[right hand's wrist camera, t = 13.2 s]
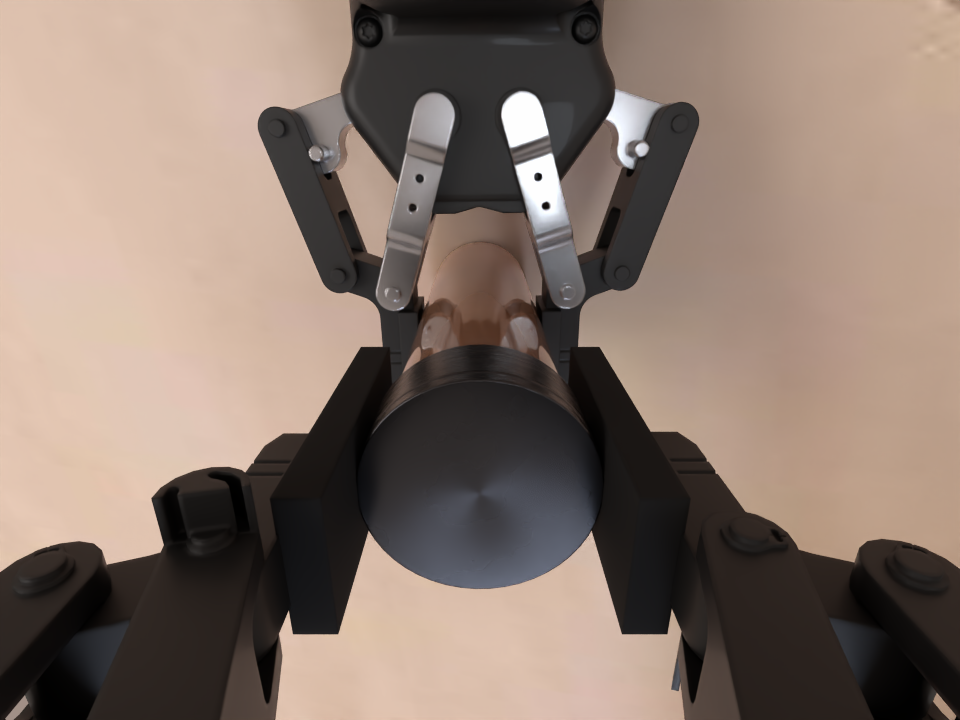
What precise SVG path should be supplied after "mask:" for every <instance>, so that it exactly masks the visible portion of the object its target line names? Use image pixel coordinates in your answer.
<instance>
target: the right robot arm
mask: <svg viewBox="0 0 960 720" xmlns="http://www.w3.org/2000/svg"><path fill="white" fill-rule="evenodd" d="M568 385H569V387H570V388H571V389H572V391H573V392H574V394H575V396H576V397H577V399H578V401H579V403H580V406H581V408H582V411H583V413H584V416H585V418H586V421H587V423H588V426H589V428H590V431H591V433H592V436H593V438H594V441H595V444H596V446H597V449H598V451H599V454H600V457H601V461H602V465H603V469H604V488H603V498H602V506H601V510H600V513H599V516H598V518H597V521H596V523H595V525H594V527H593V529H592V533H593V536H594V540H595V543H596V547H597V550H598V554H599V557H600V560H601V564H602V567H603V571H604V574H605V577H606V581H607V584H608V588H609V591H610V595H611V598H612V601H613V605H614V608H615V612H616V615H617V618H618V622H619V625H620V629H621V632H622V634H667V633H668V627H669V621H670V616H671V610H673V612H674V614H675V617H676V619H677V621H678V624H679V626H680V629H681V631H682V632H681V638H680V643H679V648H678V654H677V659H676V664H675V670H674V675H673V681H672V688H671V690H676V691H679V686H680V681H681V690H682V699H683V708H684V716H685V720H949V719H948V718H947V717H946V716H945V715H944V714H943V713H942V712H941V711H940V710H939V708H938V707H937V706H936V705H935V704H934V702H933V700H934V697H935V695H936V693H938V694H939V696H940V697H941V698H942V699H943V700H944V701H945V703H946V704H947V705H948V706H949V707H950V709H951V710H952V711H953V712H954V713H955V715H956V718H955V720H960V569H959V568H958V567H956V566H955V565H954V564H952V563H951V562H949V561H948V560H947V559H945V558H943V557H941V556H939V555H937V554H935V553H933V552H931V551H929V550H927V549H925V548H923V547H920V546H917V545H912V544H910V543H906V542H902V541H895V540H886V539H879V540H872V541H867V542H866V543H865V544H864V545H862V546H861V547H860V548H859V551H858V554H857V557H856V560H855V563H854V562H849V561H844V560H840V559H835V558H830V557H825V556H821V555H816V554H812V553H808V552H804V551H801V550H798V548H797V545H796V544H795V542H794V541H793V540H792V538H791V537H790V535H789V534H788V533H787V532H786V531H784V530H783V529H782V528H780V527H779V526H778V525H776V524H775V523H774V522H771V521H769V520H767V519H765V518H763V517H760V516H758V515H756V514H751V513H747V512H745V511H744V509H743V508H742V506H741V505H740V504H739V502H738V501H737V500H736V498H735V497H734V496H733V494H732V493H731V491H730V490H729V489H728V487H727V486H726V485H725V483H724V482H723V481H722V479H721V478H720V476H719V475H718V474H716V473H715V470H714V468H713V467H712V466H711V464H710V463H709V462H707V459H706V457H705V456H704V455H703V453H702V452H701V451H700V449H699V448H698V446H697V445H696V444H695V443H693V442H692V441H690V440H689V439H687V438H686V437H684V436H683V435H681V434H680V433H678V432H650V430H649V428H648V427H647V425H646V423H645V422H644V420H643V418H642V417H641V415H640V413H639V412H638V410H637V409H636V407H635V405H634V404H633V402H632V400H631V399H630V397H629V395H628V394H627V392H626V390H625V389H624V387H623V385H622V384H621V382H620V380H619V379H618V377H617V375H616V374H615V372H614V370H613V369H612V367H611V366H610V364H609V362H608V361H607V359H606V357H605V356H604V354H603V352H602V351H601V349H600V347H571V348H570V363H569V379H568ZM391 386H392V374H391V359H390V347H361V348H360V350H359V351H358V353H357V354H356V356H355V358H354V359H353V361H352V363H351V364H350V366H349V368H348V369H347V371H346V373H345V374H344V376H343V378H342V379H341V381H340V383H339V384H338V386H337V388H336V389H335V391H334V393H333V394H332V396H331V398H330V399H329V401H328V402H327V404H326V406H325V407H324V409H323V411H322V412H321V414H320V416H319V417H318V419H317V421H316V422H315V424H314V426H313V427H312V429H311V431H310V432H309V434H282V435H281V436H279V437H278V438H276V439H275V440H273V441H272V442H270V443H269V444H267V445H266V446H264V448H263V449H262V450H261V452H260V453H259V455H258V456H257V457H256V459H255V460H254V464H251V466H250V467H249V468H248V470H247V471H246V472H243V471H242V470H239V469H235V468H231V467H211V468H206V469H201V470H197V471H193V472H190V473H188V474H185V475H183V476H180V477H178V478H175V479H174V480H172V481H170V482H169V483H167V484H166V485H164V486H163V487H161V488H160V489H159V490H158V491H157V493H156V494H155V495H154V496H153V497H152V498H151V499H152V503H153V506H154V510H155V514H156V517H157V521H158V525H159V528H160V532H161V536H162V540H163V543H164V546H163V549H162V551H161V553H157V554H154V555H150V556H146V557H141V558H136V559H132V560H127V561H122V562H118V563H113V564H108V565H106V562H105V558H104V555H103V552H102V550H101V549H100V548H98V547H97V546H96V545H95V544H93V543H87V542H80V541H78V542H69V543H61V544H57V545H53V546H50V547H46V548H43V549H40V550H37V551H35V552H33V553H32V554H29V555H27V556H25V557H23V558H21V559H19V560H17V561H15V562H14V563H13V564H11V565H10V566H8V567H7V568H6V569H4V570H3V571H1V572H0V720H6V719H5V718H6V717H7V716H8V714H9V713H10V712H11V711H12V710H13V708H14V707H15V706H16V705H17V704H18V702H19V701H20V700H21V699H22V698H23V696H24V695H25V696H26V699H27V701H28V703H29V704H28V705H27V706H26V707H25V709H24V710H23V711H22V712H21V713H20V715H18V716H17V717H16V718H15V719H14V720H275V718H276V709H277V700H278V691H279V682H280V673H281V664H282V650H281V643H280V638H279V632H280V630H281V627H282V625H283V623H284V620H285V618H286V615H287V613H288V611H289V614H290V619H291V625H292V631H293V634H338V633H339V630H340V626H341V623H342V620H343V616H344V613H345V609H346V606H347V602H348V599H349V596H350V592H351V589H352V585H353V582H354V579H355V575H356V572H357V568H358V565H359V561H360V558H361V555H362V551H363V548H364V544H365V541H366V538H367V534H368V531H369V530H368V528H367V526H366V524H365V522H364V520H363V517H362V515H361V512H360V508H359V504H358V495H357V484H356V472H357V467H358V462H359V458H360V455H361V452H362V450H363V447H364V444H365V442H366V439H367V437H368V434H369V432H370V429H371V426H372V424H373V421H374V419H375V416H376V414H377V411H378V409H379V406H380V404H381V402H382V400H383V398H384V396H385V394H386V393H387V391H388V390H389V388H390V387H391Z"/></svg>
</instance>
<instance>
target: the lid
mask: <svg viewBox="0 0 960 720" xmlns="http://www.w3.org/2000/svg"><path fill="white" fill-rule="evenodd" d="M356 484H357V495H358V504H359V508H360V512H361V515H362V517H363V520H364V522H365V524H366V526H367V528H368V530H369V531H370V533H371V535H372V536H373V538H374V539H375V541H376V542H377V543H378V544H379V545H380V546H381V548H382V549H383V550H384V551H385V552H386V553H387V554H388V555H389V556H391V557H392V558H393V559H394V560H395V561H397V562H398V563H399V564H401V565H402V566H404V567H405V568H407V569H408V570H410V571H412V572H414V573H416V574H417V575H419V576H422V577H424V578H427V579H429V580H431V581H435V582H438V583H441V584H445V585H449V586H455V587H460V588H471V589H491V588H499V587H506V586H511V585H515V584H520V583H523V582H526V581H529V580H531V579H534V578H536V577H538V576H541V575H543V574H545V573H547V572H549V571H550V570H552V569H554V568H555V567H557V566H558V565H560V564H561V563H562V562H564V561H565V560H566V559H568V558H569V557H570V556H571V555H572V554H573V553H574V552H575V551H576V550H577V549H578V548H579V547H580V546H581V545H582V543H583V542H584V541H585V539H586V538H587V537H588V536H589V534H590V532H591V530H592V529H593V527H594V525H595V523H596V521H597V518H598V516H599V513H600V510H601V506H602V498H603V488H604V469H603V465H602V461H601V457H600V454H599V451H598V449H597V446H596V444H595V441H594V438H593V436H592V433H591V431H590V428H589V426H588V423H587V421H586V418H585V416H584V413H583V411H582V408H581V406H580V403H579V401H578V399H577V397H576V396H575V394H574V392H573V391H572V389H571V388H570V387H569V385H568V384H567V383H566V382H565V380H564V379H563V378H562V377H561V376H560V375H559V374H558V373H556V372H555V371H554V370H553V369H552V368H551V367H549V366H548V365H546V364H545V363H543V362H542V361H540V360H538V359H536V358H534V357H533V356H531V355H529V354H526V353H523V352H521V351H518V350H515V349H511V348H507V347H503V346H496V345H486V344H480V345H465V346H458V347H453V348H449V349H446V350H442V351H439V352H437V353H434V354H432V355H430V356H427V357H426V358H424V359H422V360H420V361H419V362H417V363H415V364H414V365H413V366H411V367H410V368H409V369H407V370H406V371H405V372H404V373H403V374H402V375H401V376H400V377H399V378H398V379H397V380H396V381H395V382H394V383H393V384H392V386H391V387H390V388H389V390H388V391H387V393H386V394H385V396H384V398H383V400H382V402H381V404H380V406H379V409H378V411H377V414H376V416H375V419H374V421H373V424H372V426H371V429H370V432H369V434H368V437H367V439H366V442H365V444H364V447H363V450H362V452H361V455H360V458H359V462H358V467H357V472H356Z"/></svg>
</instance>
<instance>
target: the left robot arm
mask: <svg viewBox="0 0 960 720" xmlns="http://www.w3.org/2000/svg"><path fill="white" fill-rule="evenodd" d="M603 6H604V0H350V12H351V24H352V36H353V43H352V52H351V57H350V61H349V65H348V67H347V70H346V72H345V74H344V77H343V80H342V84H341V93H339V94H336V95H333V96H330V97H327V98H325V99H322V100H319V101H316V102H313V103H311V104H308V105H305V106H302V107H299V108H297V109H294V110H290V109H285V108H281V107H270V108H267V109H266V110H264V111H263V112H262V114H261V115H260V117H259V120H258V131H259V134H260V136H261V139H262V141H263V143H264V146H265V148H266V150H267V153H268V155H269V157H270V160H271V162H272V164H273V167H274V169H275V172H276V174H277V176H278V179H279V181H280V183H281V186H282V188H283V190H284V193H285V195H286V197H287V200H288V202H289V204H290V207H291V209H292V211H293V214H294V216H295V218H296V221H297V223H298V225H299V228H300V230H301V232H302V235H303V237H304V240H305V242H306V244H307V247H308V249H309V251H310V254H311V256H312V258H313V261H314V263H315V265H316V268H317V270H318V272H319V275H320V277H321V279H322V282H323V283H324V285H325V286H326V287H327V288H328V289H329V290H331V291H333V292H336V293H345V292H350V293H353V294H356V295H359V296H362V297H365V298H367V299H369V300H370V301H372V302H373V303H374V304H375V305H376V307H377V308H378V310H379V313H380V318H381V330H382V342H383V347H390V359H391V374H392V384H393V383H394V382H395V381H396V380H397V379H398V378H399V377H400V376H401V374H402V371H403V369H404V366H405V363H406V360H407V357H408V354H409V351H410V349H411V346H412V343H413V340H414V337H415V334H416V331H417V329H418V326H419V323H420V320H421V317H422V314H423V312H424V297H418V289H417V284H418V281H419V277H420V273H421V269H422V265H423V261H424V258H425V254H426V250H427V246H428V242H429V239H430V236H431V232H432V229H433V225H434V221H435V217H436V214H455V213H459V212H462V211H466V210H469V209H473V208H476V207H483V208H487V209H491V210H494V211H498V212H502V213H523V215H524V219H525V222H526V225H527V229H528V232H529V235H530V238H531V241H532V244H533V248H534V251H535V255H536V258H537V262H538V266H539V269H540V273H541V276H542V295H540V296H536V310H537V313H538V316H539V319H540V322H541V324H542V327H543V330H544V333H545V336H546V339H547V341H548V344H549V347H550V350H551V353H552V356H553V359H554V361H555V364H556V367H557V370H558V373H559V375H560V376H561V377H562V378H563V379H564V380H565V382H566V383H567V384H568V379H569V363H570V348H571V347H578V335H579V317H580V311H581V308H582V306H583V304H584V303H585V302H586V301H587V300H588V299H589V298H590V297H592V296H594V295H596V294H599V293H602V292H605V291H608V290H610V289H614V290H618V291H622V290H626V289H629V288H630V287H632V286H633V285H634V284H635V283H636V281H637V280H638V278H639V275H640V273H641V270H642V268H643V265H644V263H645V260H646V258H647V255H648V253H649V250H650V247H651V245H652V242H653V240H654V237H655V235H656V232H657V230H658V227H659V225H660V222H661V220H662V217H663V215H664V212H665V210H666V207H667V205H668V202H669V200H670V197H671V195H672V192H673V190H674V187H675V185H676V182H677V180H678V177H679V175H680V172H681V169H682V167H683V164H684V162H685V159H686V157H687V154H688V152H689V149H690V147H691V144H692V142H693V139H694V137H695V134H696V132H697V129H698V126H699V116H698V113H697V111H696V109H695V108H694V107H693V106H692V105H691V104H689V103H686V102H678V103H669V104H661V103H658V102H655V101H652V100H648V99H645V98H642V97H639V96H636V95H633V94H630V93H627V92H624V91H621V90H618V89H615V81H614V77H613V74H612V71H611V69H610V67H609V65H608V63H607V60H606V57H605V53H604V49H603V43H602V24H603ZM602 123H605V124H606V125H607V126H608V127H609V129H610V131H611V134H612V145H611V156H612V159H613V161H614V162H615V163H616V164H617V165H618V166H620V167H622V170H621V173H620V176H619V178H618V181H617V184H616V187H615V189H614V192H613V195H612V198H611V201H610V203H609V206H608V209H607V212H606V215H605V217H604V220H603V223H602V226H601V228H600V231H599V234H598V237H597V240H596V242H595V245H594V248H593V250H592V251H589V252H586V253H584V254H581V255H578V256H577V254H576V250H575V246H574V242H573V232H572V227H571V223H570V219H569V215H568V211H567V207H566V203H565V199H564V195H563V191H562V188H561V184H560V181H561V180H562V179H563V177H564V176H565V175H566V173H567V172H568V170H569V169H570V168H571V166H572V165H573V164H574V162H575V161H576V159H577V158H578V157H579V155H580V154H581V152H582V151H583V150H584V148H585V147H586V146H587V144H588V143H589V141H590V140H591V139H592V137H593V136H594V134H595V133H596V132H597V130H598V129H599V128H600V126H601V125H602ZM353 126H354V127H355V128H356V130H357V131H358V132H359V134H360V135H361V136H362V138H363V139H364V140H365V141H366V143H367V144H368V145H369V147H370V148H371V149H372V151H373V152H374V153H375V155H376V156H377V157H378V158H379V160H380V161H381V162H382V164H383V165H384V166H385V168H386V169H387V170H388V172H389V173H390V174H391V176H392V177H393V178H394V179H395V181H396V182H397V183H398V186H397V191H396V195H395V199H394V204H393V208H392V212H391V217H390V221H389V226H388V230H387V242H386V247H385V252H384V256H383V258H380V257H378V256H375V255H372V254H369V253H367V250H366V248H365V245H364V242H363V240H362V237H361V235H360V232H359V229H358V227H357V224H356V222H355V219H354V217H353V214H352V211H351V209H350V206H349V204H348V201H347V198H346V196H345V193H344V191H343V188H342V186H341V183H340V180H339V178H338V175H337V173H336V171H338V170H340V169H341V168H342V167H343V166H344V165H345V163H346V160H347V150H346V146H345V139H346V135H347V133H348V131H349V130H350V129H351V128H352V127H353Z"/></svg>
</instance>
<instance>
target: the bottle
mask: <svg viewBox="0 0 960 720" xmlns="http://www.w3.org/2000/svg"><path fill="white" fill-rule="evenodd" d="M480 344H486V345H496V346H503V347H507V348H511V349H515V350H518V351H521V352H523V353H526V354H529V355H531V356H533V357H534V358H536V359H538V360H540V361H542V362H543V363H545V364H546V365H548V366H549V367H551V368H552V369H553V370H554V371H555V372H556V373H558V370H557V367H556V364H555V361H554V359H553V356H552V353H551V350H550V347H549V344H548V341H547V339H546V336H545V333H544V330H543V327H542V324H541V322H540V319H539V316H538V313H537V310H536V307H535V304H534V302H533V299H532V296H531V293H530V290H529V287H528V285H527V282H526V279H525V276H524V273H523V271H522V268H521V266H520V264H519V263H518V261H517V260H516V259H515V257H514V256H513V255H512V254H511V253H509V252H508V251H507V250H505V249H504V248H502V247H500V246H498V245H495V244H492V243H487V242H474V243H469V244H465V245H463V246H460V247H458V248H457V249H455V250H453V251H452V252H451V253H450V254H449V255H448V256H447V257H446V258H445V259H444V260H443V262H442V263H441V265H440V267H439V269H438V272H437V274H436V277H435V280H434V283H433V286H432V289H431V292H430V294H429V297H428V300H427V303H426V306H425V309H424V312H423V314H422V317H421V320H420V323H419V326H418V329H417V331H416V334H415V337H414V340H413V343H412V346H411V349H410V351H409V354H408V357H407V360H406V363H405V366H404V369H403V371H402V374H403V373H404V372H405V371H406V370H407V369H409V368H410V367H411V366H413V365H414V364H415V363H417V362H419V361H420V360H422V359H424V358H426V357H427V356H430V355H432V354H434V353H437V352H439V351H442V350H446V349H449V348H453V347H458V346H465V345H480ZM402 374H401V375H402ZM558 374H559V373H558Z"/></svg>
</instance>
